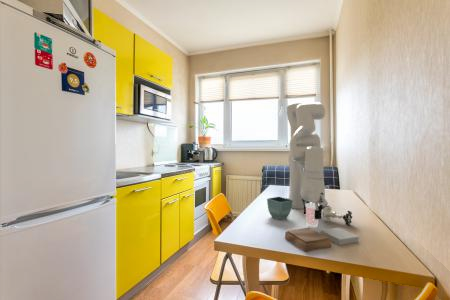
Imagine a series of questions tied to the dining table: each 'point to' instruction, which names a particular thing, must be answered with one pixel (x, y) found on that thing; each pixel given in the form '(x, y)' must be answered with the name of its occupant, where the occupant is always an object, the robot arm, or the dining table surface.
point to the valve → (335, 215)
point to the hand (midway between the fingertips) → (312, 215)
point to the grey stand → (340, 236)
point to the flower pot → (279, 207)
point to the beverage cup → (311, 215)
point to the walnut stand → (308, 239)
